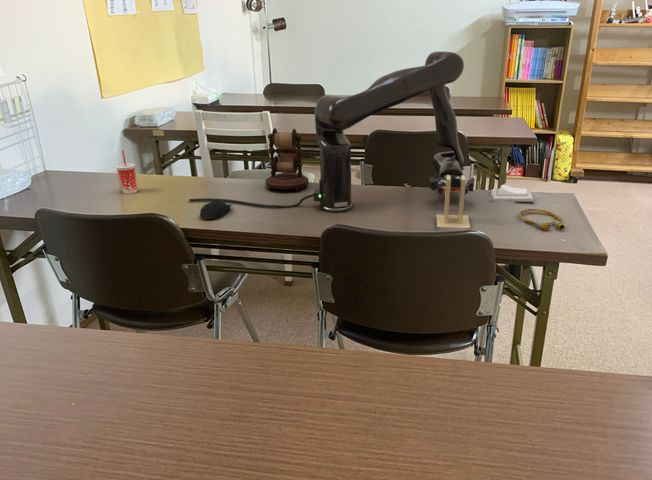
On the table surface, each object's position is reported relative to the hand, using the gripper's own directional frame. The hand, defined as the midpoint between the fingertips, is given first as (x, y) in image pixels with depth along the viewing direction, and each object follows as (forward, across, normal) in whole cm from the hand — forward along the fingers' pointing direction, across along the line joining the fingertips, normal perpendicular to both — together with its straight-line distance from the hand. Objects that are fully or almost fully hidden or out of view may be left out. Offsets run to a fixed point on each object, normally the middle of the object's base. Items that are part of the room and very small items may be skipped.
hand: (453, 191), depth 162 cm
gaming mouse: (+4, -70, +8) cm, 71 cm away
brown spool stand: (-24, -55, +8) cm, 61 cm away
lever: (+3, 0, -1) cm, 4 cm away
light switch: (-19, +20, +8) cm, 29 cm away
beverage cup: (-14, -107, +8) cm, 108 cm away
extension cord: (+3, +25, +8) cm, 26 cm away
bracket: (+8, 0, +7) cm, 11 cm away
